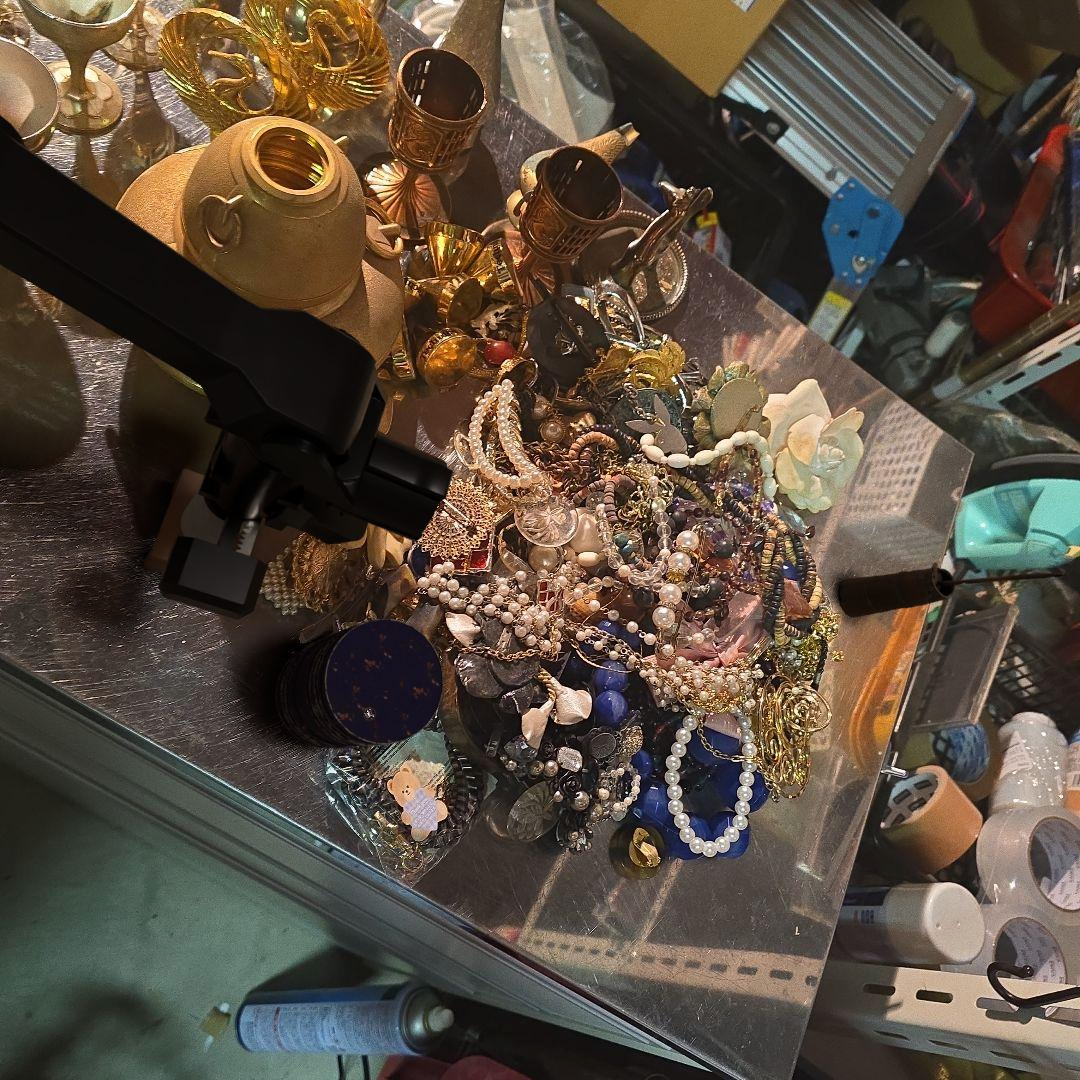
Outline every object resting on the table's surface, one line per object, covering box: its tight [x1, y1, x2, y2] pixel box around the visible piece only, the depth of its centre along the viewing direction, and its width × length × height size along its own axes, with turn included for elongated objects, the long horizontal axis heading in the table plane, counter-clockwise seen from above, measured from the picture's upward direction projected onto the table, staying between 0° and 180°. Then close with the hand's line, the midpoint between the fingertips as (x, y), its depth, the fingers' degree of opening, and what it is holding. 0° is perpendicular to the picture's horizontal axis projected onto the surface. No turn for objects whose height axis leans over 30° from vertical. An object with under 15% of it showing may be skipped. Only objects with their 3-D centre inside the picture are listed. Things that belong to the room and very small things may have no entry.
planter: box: [181, 486, 248, 545], centre depth 70 cm, size 4×4×10 cm
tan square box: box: [143, 467, 247, 575], centre depth 77 cm, size 7×8×5 cm
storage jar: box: [275, 618, 445, 750], centre depth 75 cm, size 10×10×15 cm
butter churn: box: [839, 562, 1065, 618], centre depth 107 cm, size 9×10×28 cm
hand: (222, 511), depth 70 cm, fingers open, 9 cm apart
